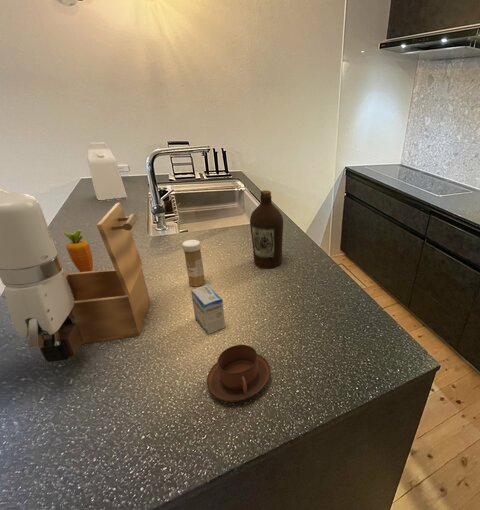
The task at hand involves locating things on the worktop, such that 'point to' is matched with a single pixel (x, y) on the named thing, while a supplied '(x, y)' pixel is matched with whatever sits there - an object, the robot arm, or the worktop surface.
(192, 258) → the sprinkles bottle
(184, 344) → the worktop surface
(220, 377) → the cup and saucer
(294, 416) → the worktop surface
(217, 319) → the medicine box
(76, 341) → the block
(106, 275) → the chest
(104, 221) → the lid
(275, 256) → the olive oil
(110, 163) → the milk
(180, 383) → the worktop surface
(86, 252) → the carrot
